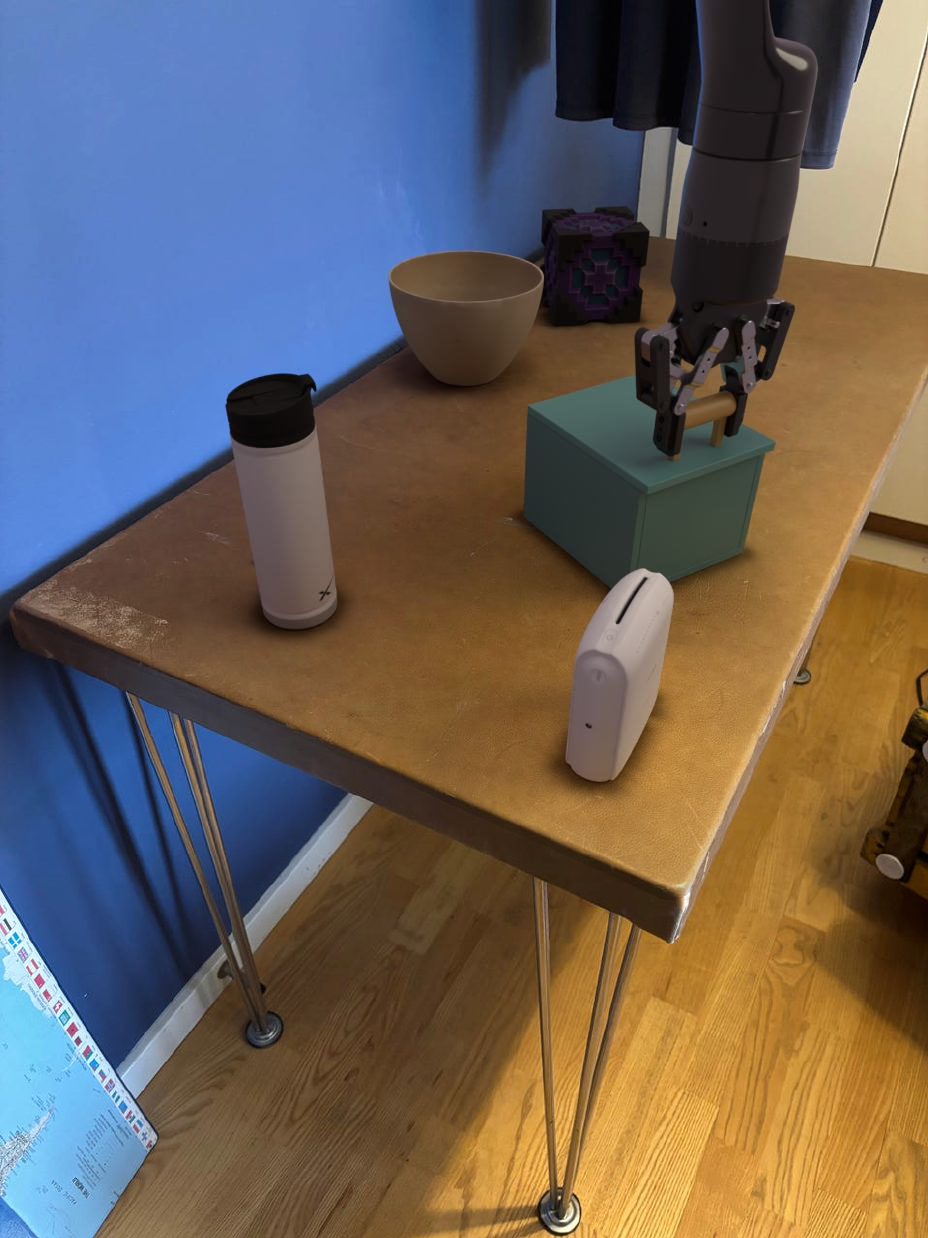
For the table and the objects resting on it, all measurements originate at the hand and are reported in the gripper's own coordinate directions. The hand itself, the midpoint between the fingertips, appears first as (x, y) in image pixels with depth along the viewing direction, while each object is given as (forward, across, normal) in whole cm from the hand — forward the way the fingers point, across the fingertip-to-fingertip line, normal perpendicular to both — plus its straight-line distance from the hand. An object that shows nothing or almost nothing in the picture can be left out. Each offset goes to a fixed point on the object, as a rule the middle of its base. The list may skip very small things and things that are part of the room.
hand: (696, 441), depth 73 cm
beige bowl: (+13, +6, +45) cm, 47 cm away
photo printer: (+13, -17, -13) cm, 25 cm away
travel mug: (+13, -30, +12) cm, 35 cm away
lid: (+2, 0, +6) cm, 6 cm away
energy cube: (+13, +32, +55) cm, 65 cm away
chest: (+12, 0, +6) cm, 14 cm away
